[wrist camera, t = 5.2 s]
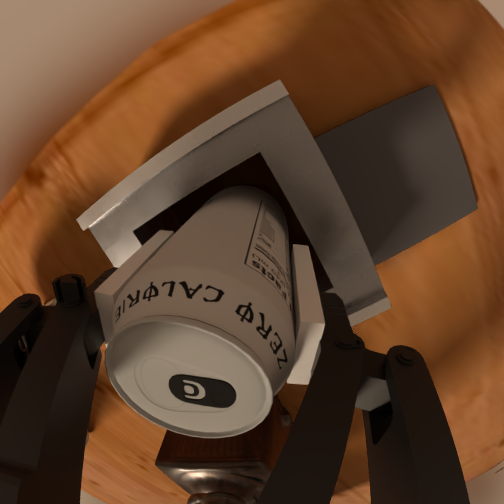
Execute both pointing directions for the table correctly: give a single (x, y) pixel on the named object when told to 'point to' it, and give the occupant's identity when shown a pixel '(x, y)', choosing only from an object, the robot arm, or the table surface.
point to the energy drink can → (209, 320)
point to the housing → (226, 157)
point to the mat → (400, 172)
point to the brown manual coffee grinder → (226, 460)
